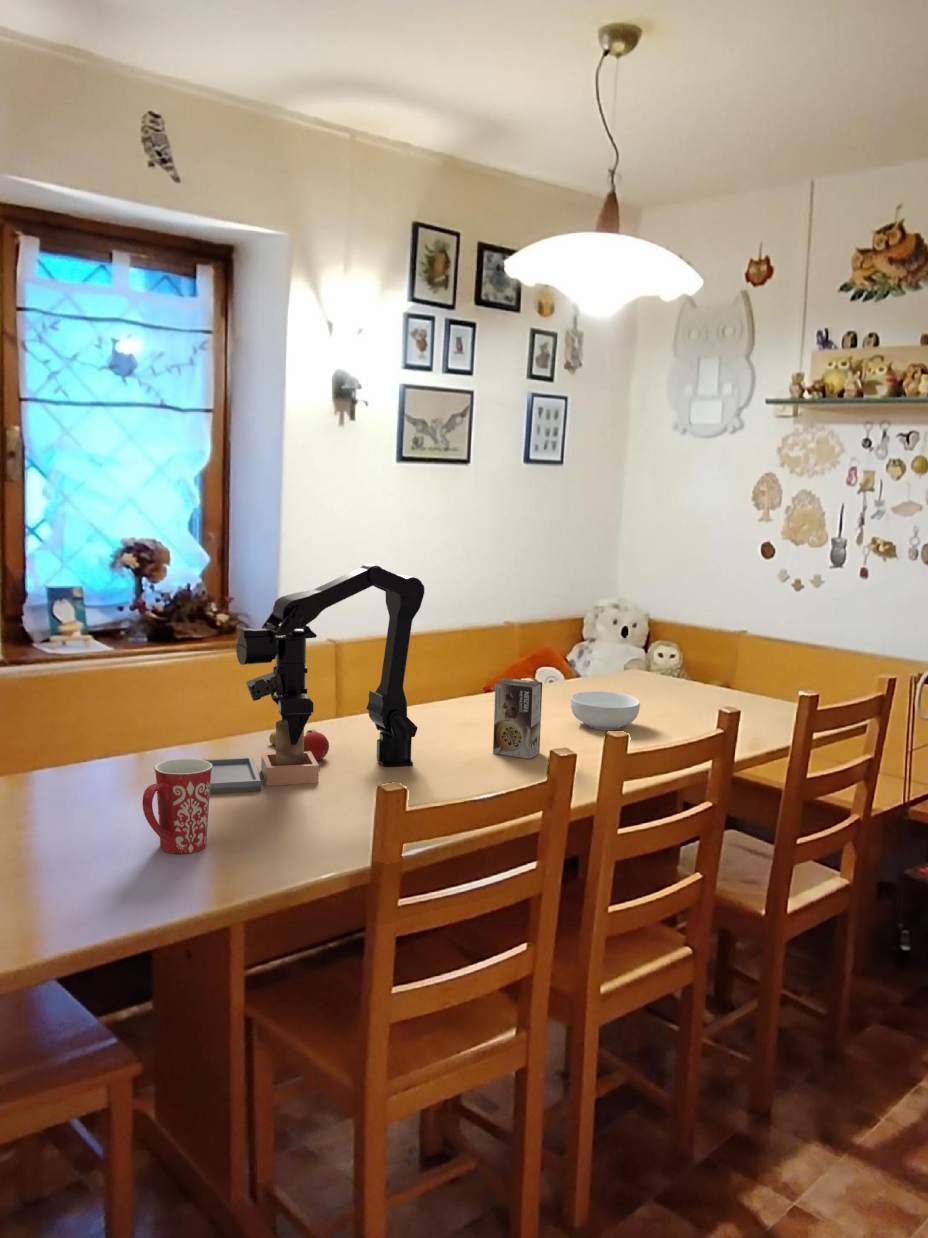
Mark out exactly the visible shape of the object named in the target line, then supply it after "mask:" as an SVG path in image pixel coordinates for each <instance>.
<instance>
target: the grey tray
mask: <svg viewBox="0 0 928 1238" xmlns="http://www.w3.org/2000/svg"><path fill="white" fill-rule="evenodd" d="M200 760H205V761H208V762H210V763H211V764H212V765H213V768H212V770H211V781H210V794H211V795H212V794H214V795H215V794H226V793H228V794H230V793H246V792H261V790H262V786H261V785H262V783H261V782H262V781H261V777H260V775H259V772H258V769H257V766H256V763H255V761H254V759H253V757H252V756H248V757H228V758H227V757H226V758H205V759H203V758H201V759H200Z"/></svg>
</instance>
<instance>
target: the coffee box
mask: <svg viewBox="0 0 928 1238" xmlns="http://www.w3.org/2000/svg"><path fill="white" fill-rule="evenodd" d="M542 700H543V681H535V680H529V679H528V680H527V679H526V680H525V679H520V678H512V677H511V678H509V677H504V678H502V679H500V680H499V681H497V682H495V683H494V710H493V711H494V712H493V713H494V715H493V743H492V744H493V745H492V754H495V755H502V756H508V757H515V758H522V759H528V760H530V759H532V758H534V757H536V756H537V755H539V754H540V752H541V751H540V747H541V746H540V745H541V744H540V743H541V728H542V727H541V725H542V724H541V721H542Z"/></svg>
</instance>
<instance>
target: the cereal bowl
mask: <svg viewBox="0 0 928 1238" xmlns="http://www.w3.org/2000/svg"><path fill="white" fill-rule="evenodd" d="M640 707H641V702H640V699H638V698H637V697H635V696H632V695H629V694H625V693H622V692H621V693H620V692H615V691H614V692H613V691H603V690H589V691H581V692H576V693H573V694H572V695H571V697H570V708H571V713H572V714H573V716H574V717H575V718H576V719H577V720H579V721H580V722H582V723H584V724H586V725H587V726H588V727H590V728H591V729H595V730H600V731H615V730H618V729H620V728H621V727H625V726H628V725H631V724H632V723H633V722H634V721H635V720H636V719H637V717H638V715H639V712H640Z"/></svg>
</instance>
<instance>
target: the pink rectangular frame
mask: <svg viewBox="0 0 928 1238" xmlns="http://www.w3.org/2000/svg"><path fill="white" fill-rule="evenodd" d="M260 756H261V758H260V759H261V760H260V761H261V764H260V768H261V769H260V770H261V773H262V776H263V779H264V781H265V784H266V786H282V785H283V786H284V785H298V784H302V783H303V784H317V783H319V777H320V776H319V774H320V772H319V771H320V767H319V766H320V765H319V763H318V760H315V758H314V756H313V754H312V752H311V751H307V752H304V765H286V766H276V752H272V753H268V752H267V753H265V752H264V753H261V754H260Z"/></svg>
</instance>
